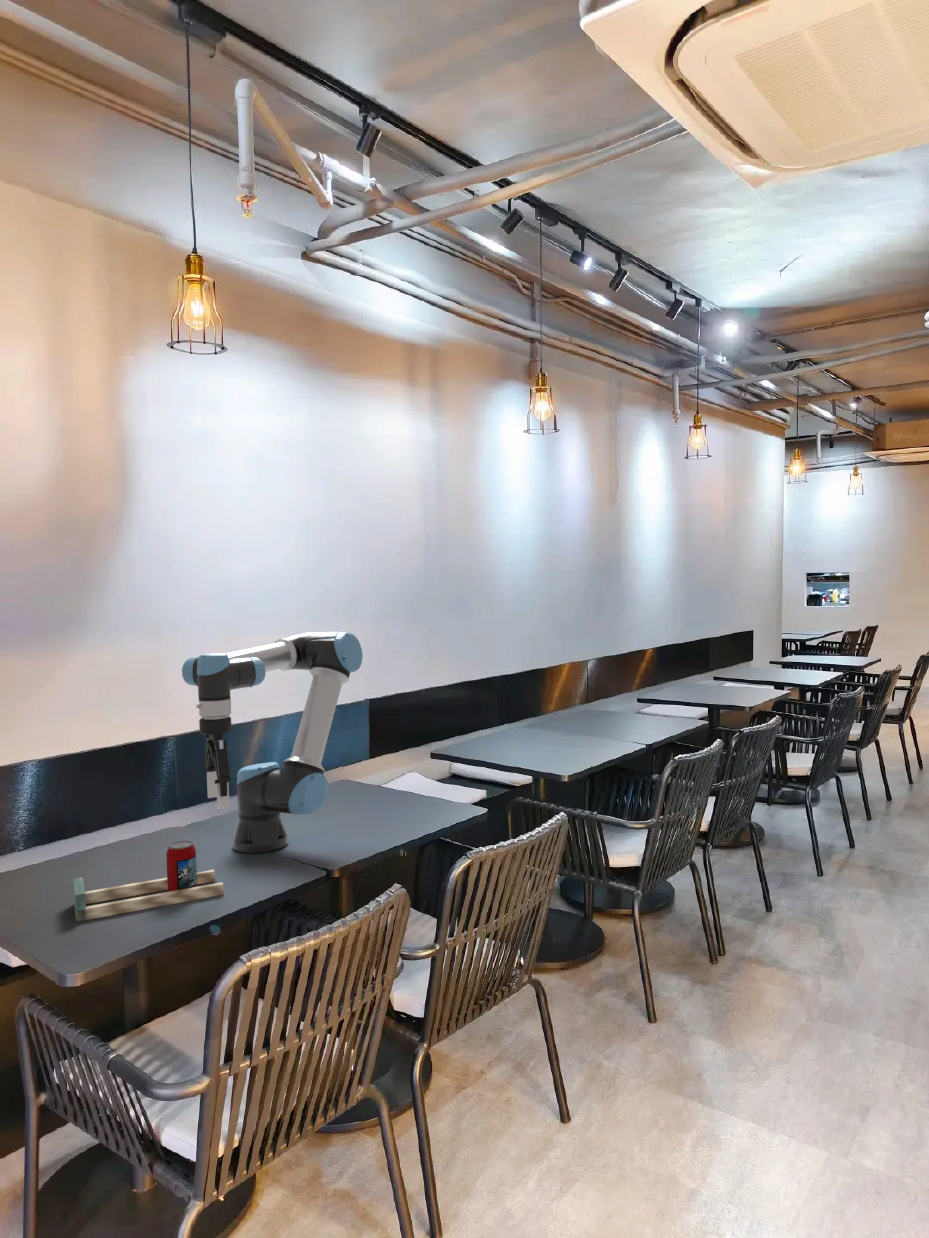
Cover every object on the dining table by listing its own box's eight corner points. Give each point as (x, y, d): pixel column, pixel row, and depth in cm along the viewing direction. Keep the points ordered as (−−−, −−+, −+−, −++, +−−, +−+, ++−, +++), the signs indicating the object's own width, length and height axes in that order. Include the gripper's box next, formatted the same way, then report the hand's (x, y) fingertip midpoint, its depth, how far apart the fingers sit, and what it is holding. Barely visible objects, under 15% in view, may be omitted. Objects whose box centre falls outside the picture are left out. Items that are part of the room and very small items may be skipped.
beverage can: (188, 899, 196) (186, 849, 196) (162, 897, 198) (160, 847, 197) (202, 888, 203) (200, 840, 202) (177, 887, 204) (175, 839, 204)
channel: (214, 879, 209) (213, 855, 209) (223, 894, 199) (222, 869, 198) (74, 904, 195) (73, 878, 194) (76, 921, 184) (75, 895, 184)
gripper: (191, 711, 212) (194, 794, 213) (208, 725, 190) (211, 817, 191) (221, 709, 216) (224, 790, 216) (241, 722, 193) (244, 812, 194)
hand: (218, 803), depth 204 cm, fingers open, 13 cm apart
